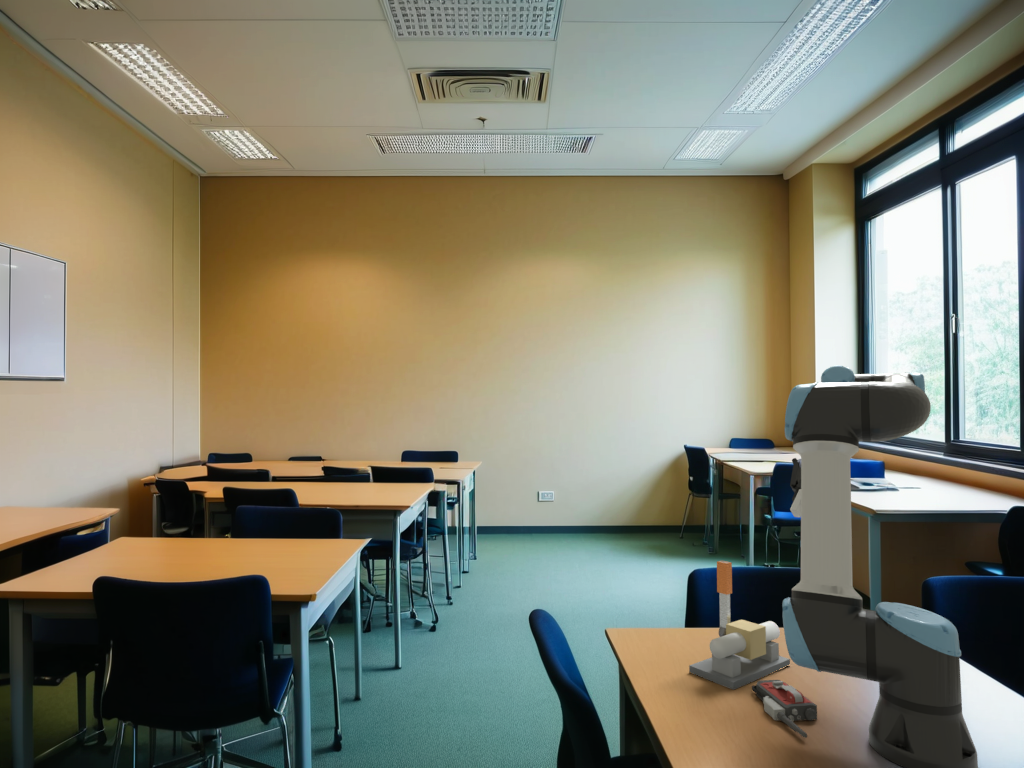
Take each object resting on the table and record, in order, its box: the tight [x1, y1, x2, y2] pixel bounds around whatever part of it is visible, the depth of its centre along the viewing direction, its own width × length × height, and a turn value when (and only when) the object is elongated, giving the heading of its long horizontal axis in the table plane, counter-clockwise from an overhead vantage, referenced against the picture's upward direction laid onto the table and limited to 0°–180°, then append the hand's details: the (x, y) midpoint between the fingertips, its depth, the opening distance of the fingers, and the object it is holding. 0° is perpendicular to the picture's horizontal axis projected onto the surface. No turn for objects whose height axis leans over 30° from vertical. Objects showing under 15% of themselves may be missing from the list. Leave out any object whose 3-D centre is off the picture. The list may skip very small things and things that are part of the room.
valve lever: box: [716, 560, 733, 637], centre depth 141 cm, size 3×3×17 cm
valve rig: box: [688, 619, 791, 690], centre depth 138 cm, size 22×11×10 cm, turn 126°
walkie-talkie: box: [751, 679, 818, 739], centre depth 116 cm, size 9×4×20 cm
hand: (795, 513), depth 146 cm, fingers closed
